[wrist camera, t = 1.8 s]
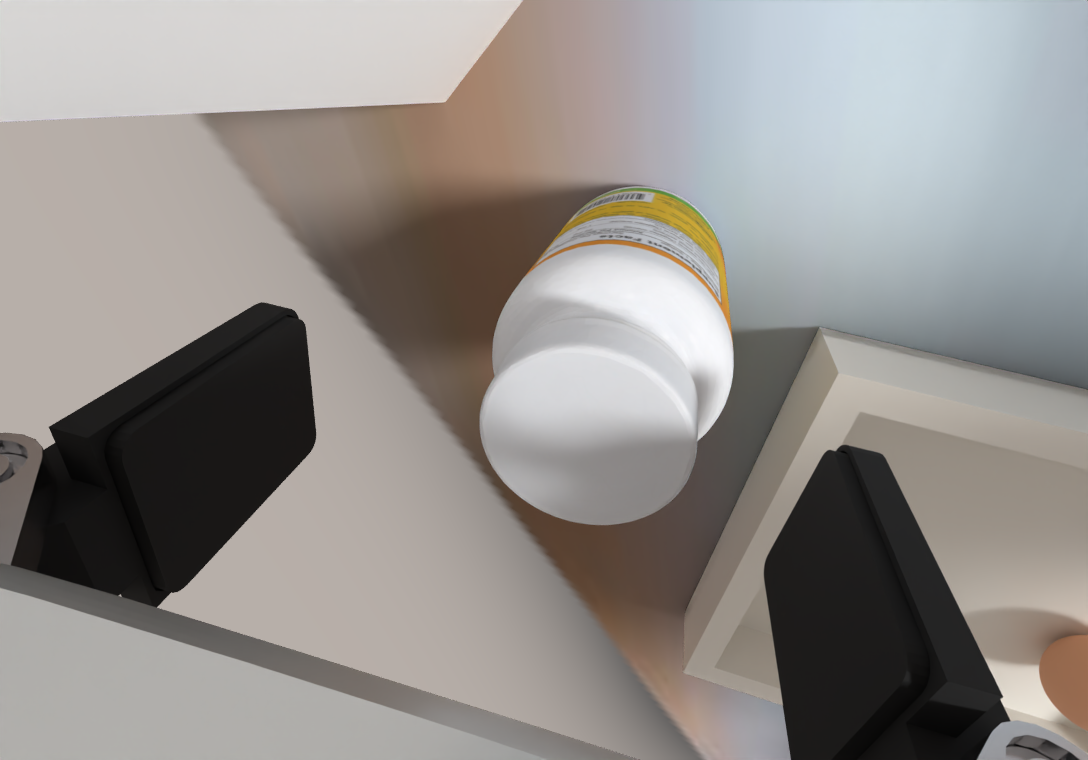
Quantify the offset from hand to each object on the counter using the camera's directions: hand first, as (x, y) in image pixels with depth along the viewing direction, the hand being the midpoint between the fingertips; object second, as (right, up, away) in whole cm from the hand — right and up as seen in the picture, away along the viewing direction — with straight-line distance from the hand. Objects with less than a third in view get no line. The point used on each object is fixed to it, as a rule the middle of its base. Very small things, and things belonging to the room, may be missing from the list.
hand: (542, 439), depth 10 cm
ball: (+20, -9, +10) cm, 24 cm away
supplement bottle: (+3, +5, +8) cm, 10 cm away
